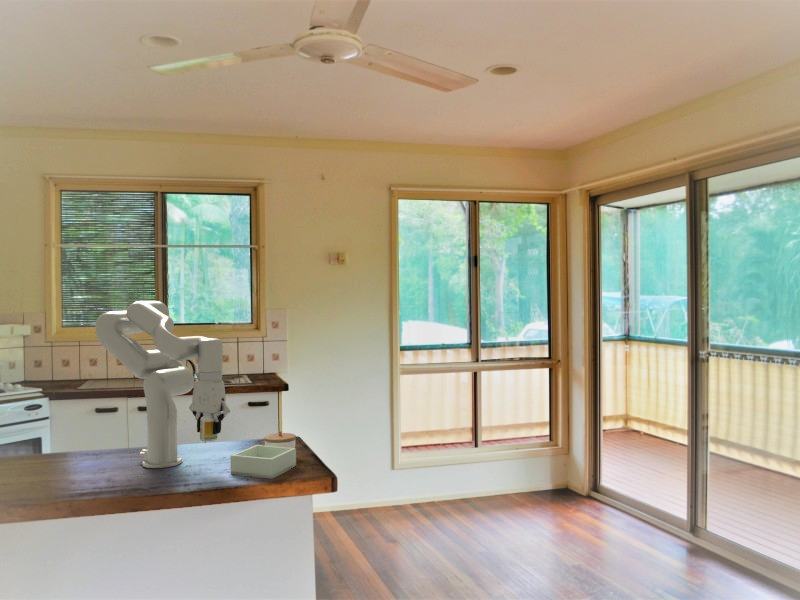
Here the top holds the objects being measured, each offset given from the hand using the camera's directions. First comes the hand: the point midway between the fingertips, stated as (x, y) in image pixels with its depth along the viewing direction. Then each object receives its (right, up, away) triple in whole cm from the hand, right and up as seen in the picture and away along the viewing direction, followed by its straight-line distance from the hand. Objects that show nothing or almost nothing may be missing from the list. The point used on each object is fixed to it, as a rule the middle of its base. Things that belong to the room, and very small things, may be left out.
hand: (208, 431), depth 202 cm
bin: (+18, -12, 0) cm, 22 cm away
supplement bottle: (0, -3, 0) cm, 3 cm away
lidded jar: (+20, -13, +15) cm, 28 cm away
